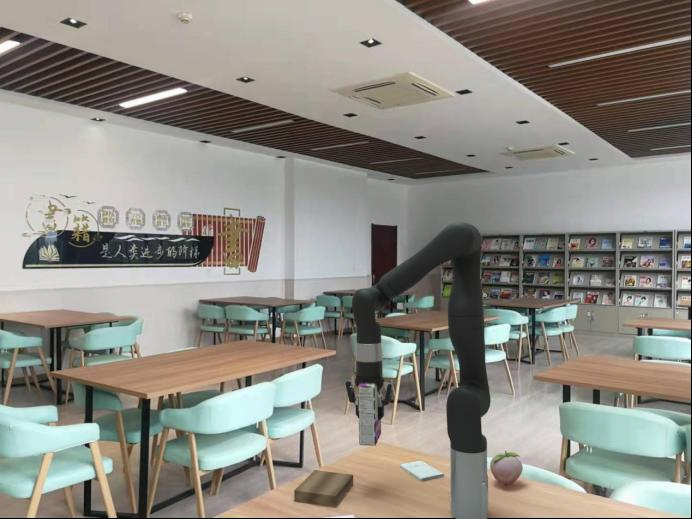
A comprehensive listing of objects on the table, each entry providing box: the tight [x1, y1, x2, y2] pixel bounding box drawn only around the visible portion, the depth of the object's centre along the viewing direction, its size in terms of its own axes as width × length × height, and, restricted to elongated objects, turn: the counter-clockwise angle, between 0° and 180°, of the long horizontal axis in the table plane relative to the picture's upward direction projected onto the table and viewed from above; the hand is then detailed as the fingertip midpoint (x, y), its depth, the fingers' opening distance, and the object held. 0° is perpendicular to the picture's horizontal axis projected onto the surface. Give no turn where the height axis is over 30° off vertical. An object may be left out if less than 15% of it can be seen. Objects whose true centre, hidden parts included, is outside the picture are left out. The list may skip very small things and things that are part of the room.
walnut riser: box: [293, 469, 354, 508], centre depth 152 cm, size 12×15×3 cm
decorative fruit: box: [489, 450, 524, 486], centre depth 157 cm, size 9×8×10 cm
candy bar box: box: [357, 382, 382, 447], centre depth 153 cm, size 11×5×16 cm, turn 168°
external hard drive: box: [399, 460, 445, 483], centre depth 167 cm, size 2×8×12 cm
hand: (369, 418), depth 153 cm, fingers closed on candy bar box, 5 cm apart
